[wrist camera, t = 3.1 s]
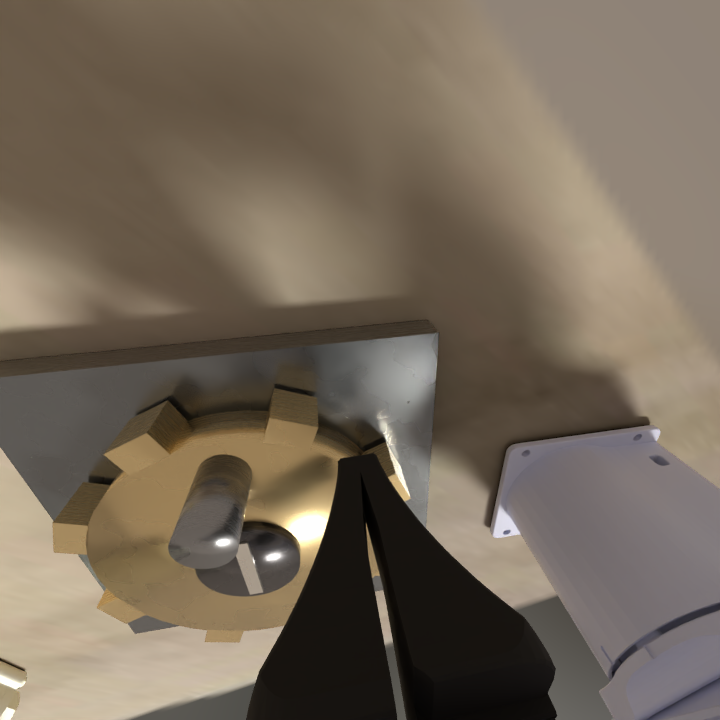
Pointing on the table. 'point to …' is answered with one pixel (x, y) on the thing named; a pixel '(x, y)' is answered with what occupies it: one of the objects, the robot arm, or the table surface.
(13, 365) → the cap plate
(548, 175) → the table surface
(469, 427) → the table surface
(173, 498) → the blocky toothed spur gear
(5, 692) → the pneumatic valve
